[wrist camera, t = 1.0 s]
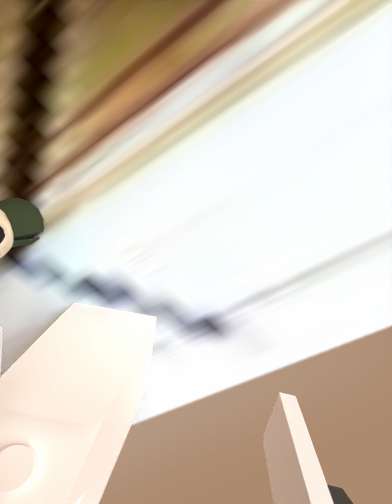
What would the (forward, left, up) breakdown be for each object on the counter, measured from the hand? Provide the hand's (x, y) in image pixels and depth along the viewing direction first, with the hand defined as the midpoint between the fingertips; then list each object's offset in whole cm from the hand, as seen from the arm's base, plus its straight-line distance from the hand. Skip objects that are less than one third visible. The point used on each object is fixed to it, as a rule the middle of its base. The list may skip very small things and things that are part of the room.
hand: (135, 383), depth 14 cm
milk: (+14, -11, -26) cm, 32 cm away
